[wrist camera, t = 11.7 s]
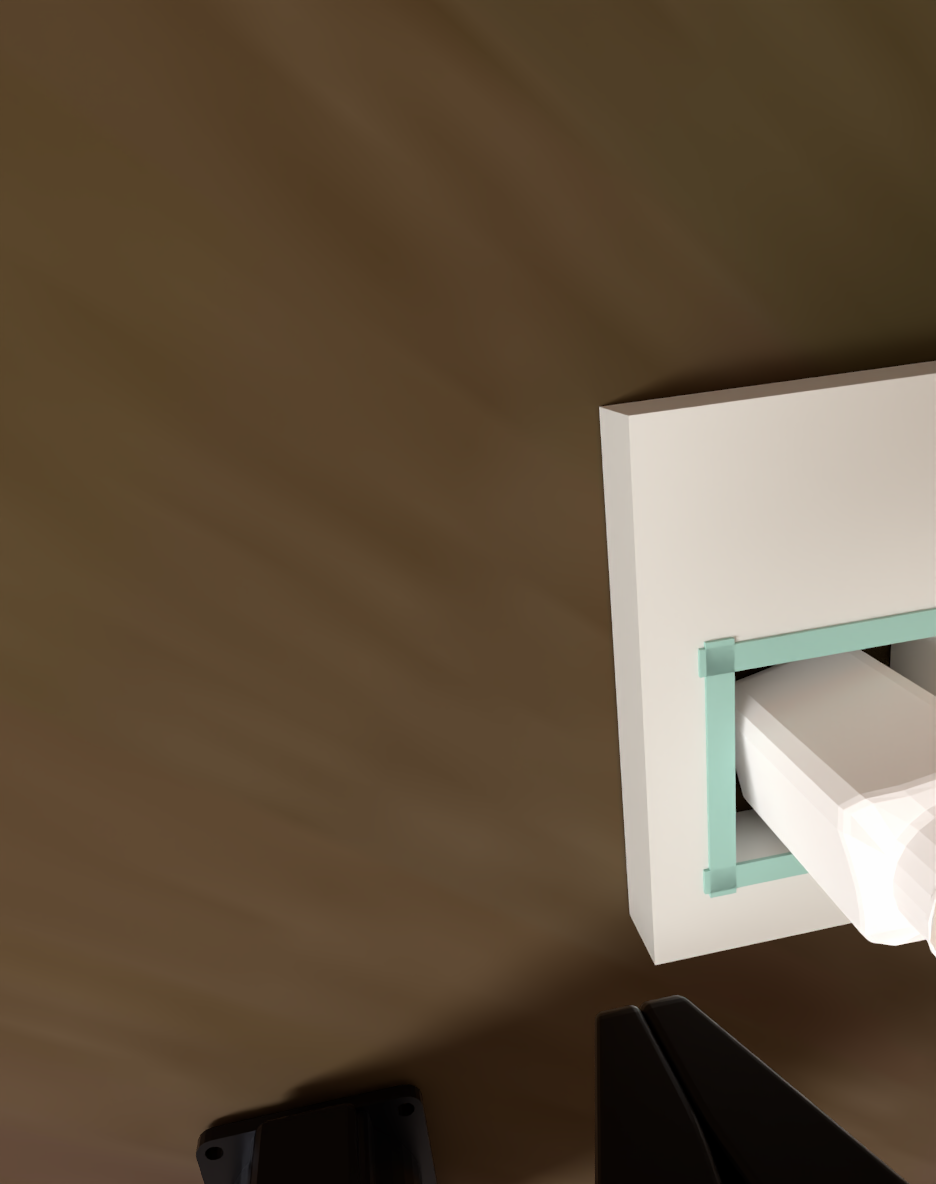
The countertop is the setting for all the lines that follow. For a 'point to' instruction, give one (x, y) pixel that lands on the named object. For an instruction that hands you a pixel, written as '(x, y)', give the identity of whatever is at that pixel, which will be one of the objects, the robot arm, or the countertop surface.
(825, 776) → the salt shaker
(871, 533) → the port plate
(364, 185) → the countertop surface
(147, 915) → the countertop surface
